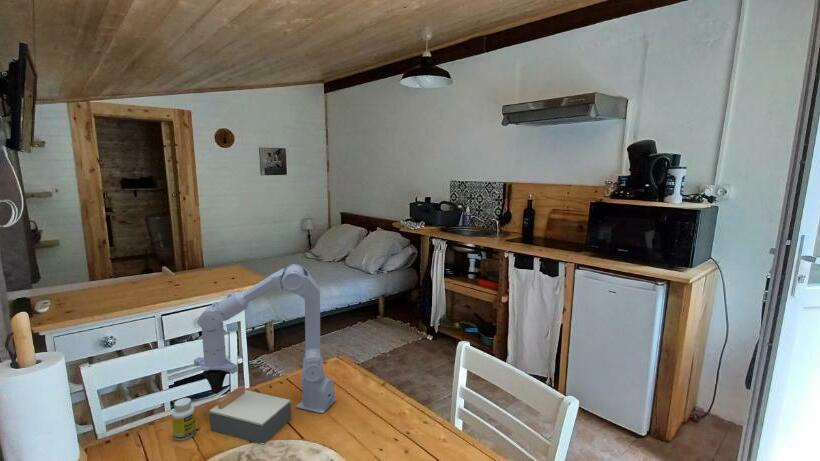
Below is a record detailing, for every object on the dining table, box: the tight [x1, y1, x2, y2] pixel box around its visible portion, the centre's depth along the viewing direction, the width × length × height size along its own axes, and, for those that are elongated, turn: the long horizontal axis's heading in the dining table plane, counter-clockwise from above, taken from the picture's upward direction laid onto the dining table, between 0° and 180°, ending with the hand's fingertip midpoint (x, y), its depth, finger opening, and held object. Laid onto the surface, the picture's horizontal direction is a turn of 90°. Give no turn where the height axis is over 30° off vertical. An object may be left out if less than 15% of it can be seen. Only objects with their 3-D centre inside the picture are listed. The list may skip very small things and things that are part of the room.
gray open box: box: [209, 402, 292, 444], centre depth 115 cm, size 18×12×5 cm, turn 70°
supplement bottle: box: [171, 397, 197, 441], centre depth 110 cm, size 5×5×10 cm
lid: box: [209, 385, 291, 426], centre depth 114 cm, size 18×12×3 cm, turn 70°
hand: (217, 391), depth 118 cm, fingers closed
